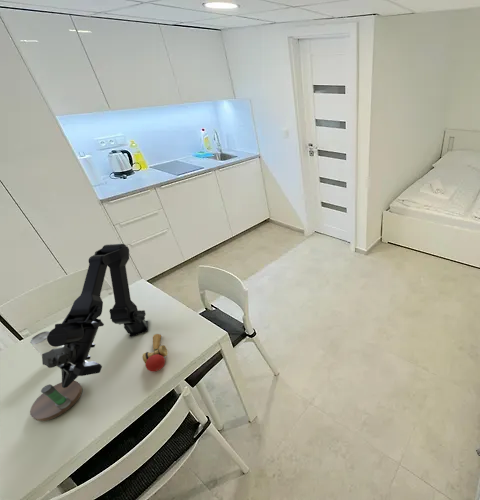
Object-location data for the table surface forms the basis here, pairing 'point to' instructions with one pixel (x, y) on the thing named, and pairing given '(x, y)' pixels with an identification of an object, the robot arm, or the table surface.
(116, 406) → the table surface
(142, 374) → the table surface
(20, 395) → the table surface
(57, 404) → the disc
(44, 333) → the can
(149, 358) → the kendama
